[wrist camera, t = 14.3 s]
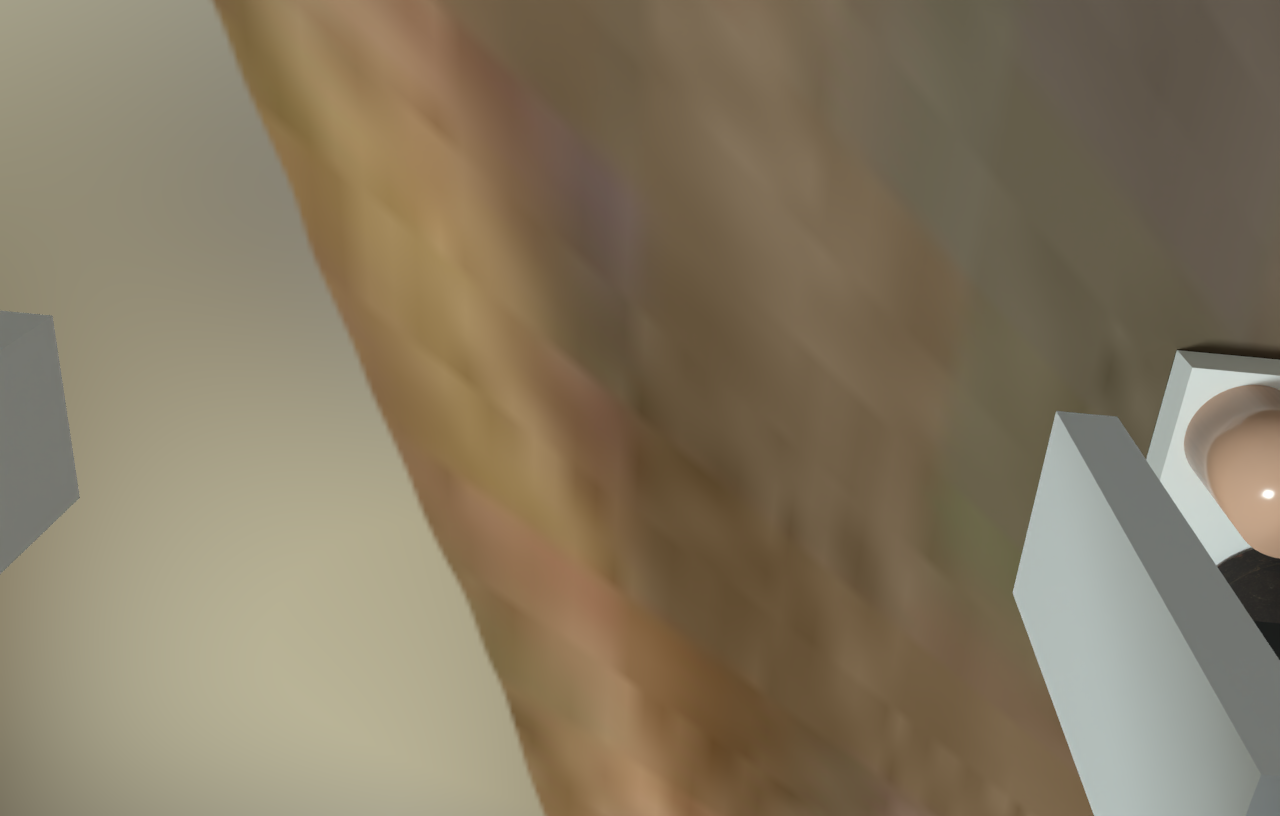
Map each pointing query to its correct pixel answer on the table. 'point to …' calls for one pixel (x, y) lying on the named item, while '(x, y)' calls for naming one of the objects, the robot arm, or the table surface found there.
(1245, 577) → the container
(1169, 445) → the thin white panel
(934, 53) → the table surface
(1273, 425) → the peach rounded cylinder
